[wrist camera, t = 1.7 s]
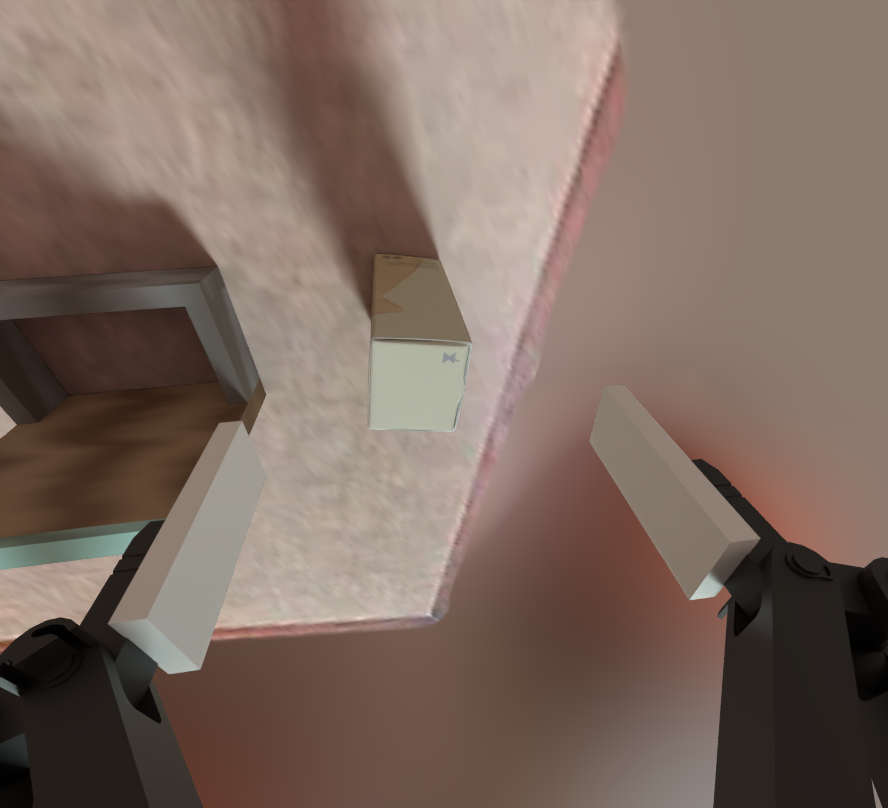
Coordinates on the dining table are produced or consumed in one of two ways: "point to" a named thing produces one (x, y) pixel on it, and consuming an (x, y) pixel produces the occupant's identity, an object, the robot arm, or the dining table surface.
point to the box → (415, 347)
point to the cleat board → (109, 418)
